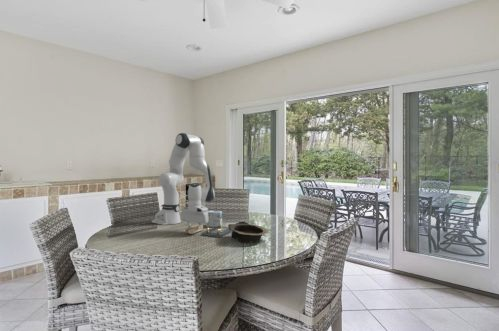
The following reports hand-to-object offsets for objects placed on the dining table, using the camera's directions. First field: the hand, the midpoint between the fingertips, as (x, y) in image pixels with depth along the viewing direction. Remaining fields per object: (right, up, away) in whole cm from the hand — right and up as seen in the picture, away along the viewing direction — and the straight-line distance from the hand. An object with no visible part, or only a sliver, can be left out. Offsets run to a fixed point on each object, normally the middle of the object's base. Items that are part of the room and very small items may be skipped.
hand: (194, 228), depth 194 cm
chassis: (+17, -3, -1) cm, 17 cm away
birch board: (0, -2, 0) cm, 2 cm away
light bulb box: (+11, -2, +18) cm, 22 cm away
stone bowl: (+36, -4, -16) cm, 40 cm away
